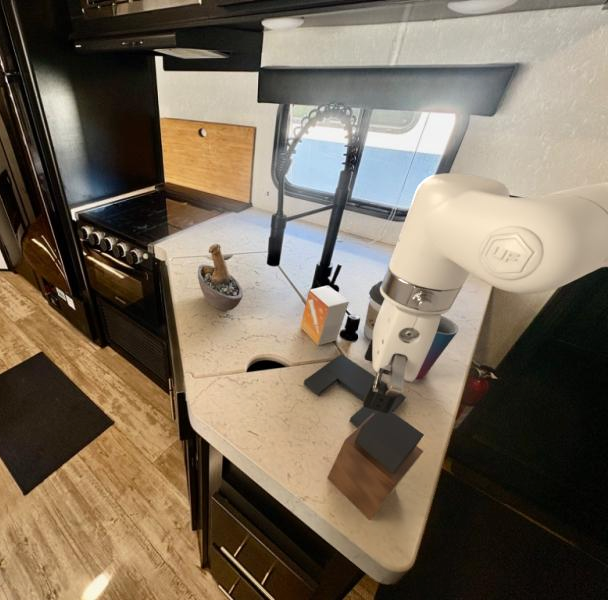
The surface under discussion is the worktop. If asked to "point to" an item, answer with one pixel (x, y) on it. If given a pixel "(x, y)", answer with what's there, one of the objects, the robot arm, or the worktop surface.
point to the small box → (323, 314)
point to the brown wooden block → (366, 475)
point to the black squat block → (388, 439)
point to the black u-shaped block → (347, 384)
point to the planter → (219, 282)
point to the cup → (438, 344)
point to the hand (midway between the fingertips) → (374, 383)
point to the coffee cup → (373, 309)
